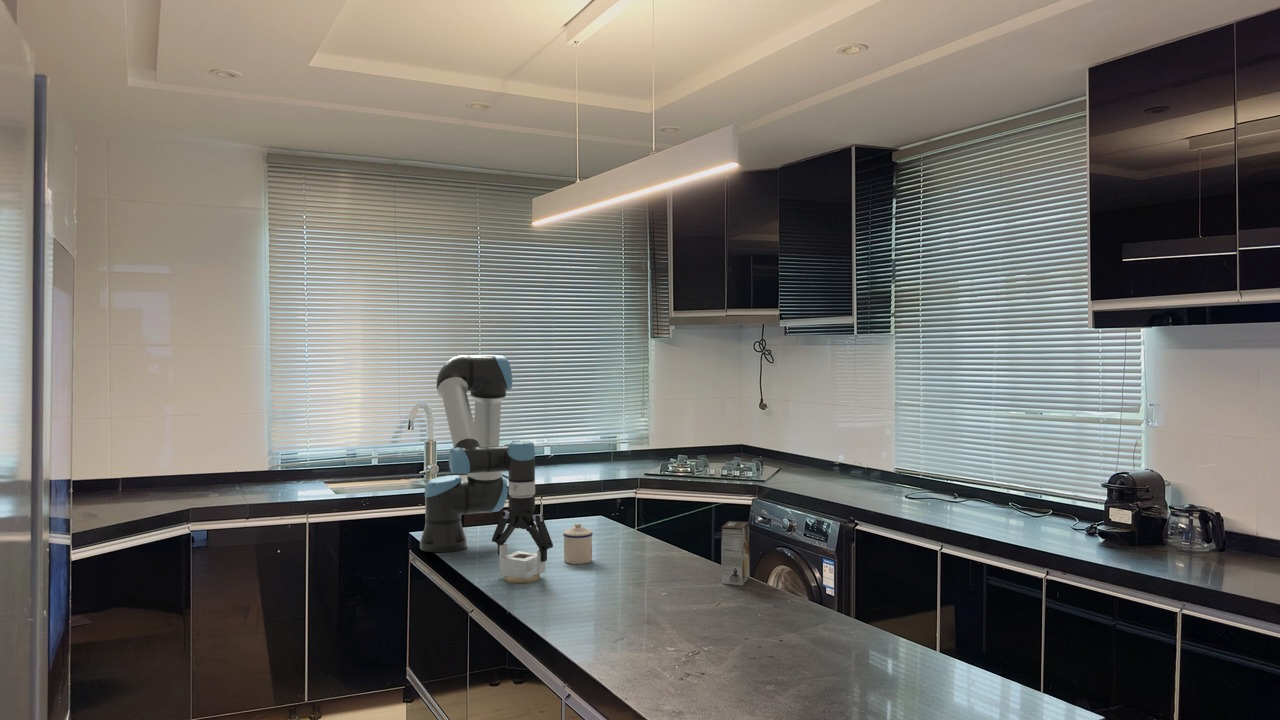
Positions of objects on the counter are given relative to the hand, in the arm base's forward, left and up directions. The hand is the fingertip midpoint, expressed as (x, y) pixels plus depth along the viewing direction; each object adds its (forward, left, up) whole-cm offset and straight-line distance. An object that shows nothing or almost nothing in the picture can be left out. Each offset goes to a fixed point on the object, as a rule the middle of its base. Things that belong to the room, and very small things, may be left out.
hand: (522, 570), depth 244 cm
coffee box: (+19, +58, -3) cm, 61 cm away
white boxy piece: (0, 0, -1) cm, 1 cm away
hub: (0, 0, -2) cm, 2 cm away
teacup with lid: (-17, +19, -3) cm, 26 cm away
